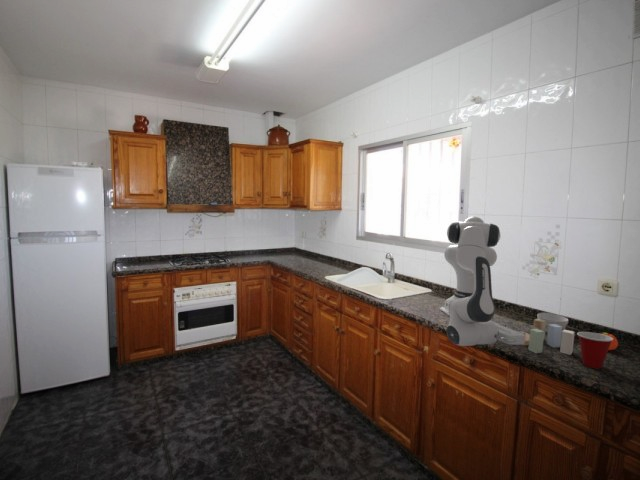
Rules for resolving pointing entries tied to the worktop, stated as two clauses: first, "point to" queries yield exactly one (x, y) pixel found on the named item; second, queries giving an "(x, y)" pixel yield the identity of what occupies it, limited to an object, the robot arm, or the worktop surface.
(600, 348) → the plastic cup
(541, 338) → the sage green post
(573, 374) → the worktop surface
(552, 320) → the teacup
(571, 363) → the worktop surface
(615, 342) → the clementine
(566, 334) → the cream post
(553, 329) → the dusty blue post
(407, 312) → the worktop surface
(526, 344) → the terracotta tile
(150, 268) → the worktop surface
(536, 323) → the beech post
